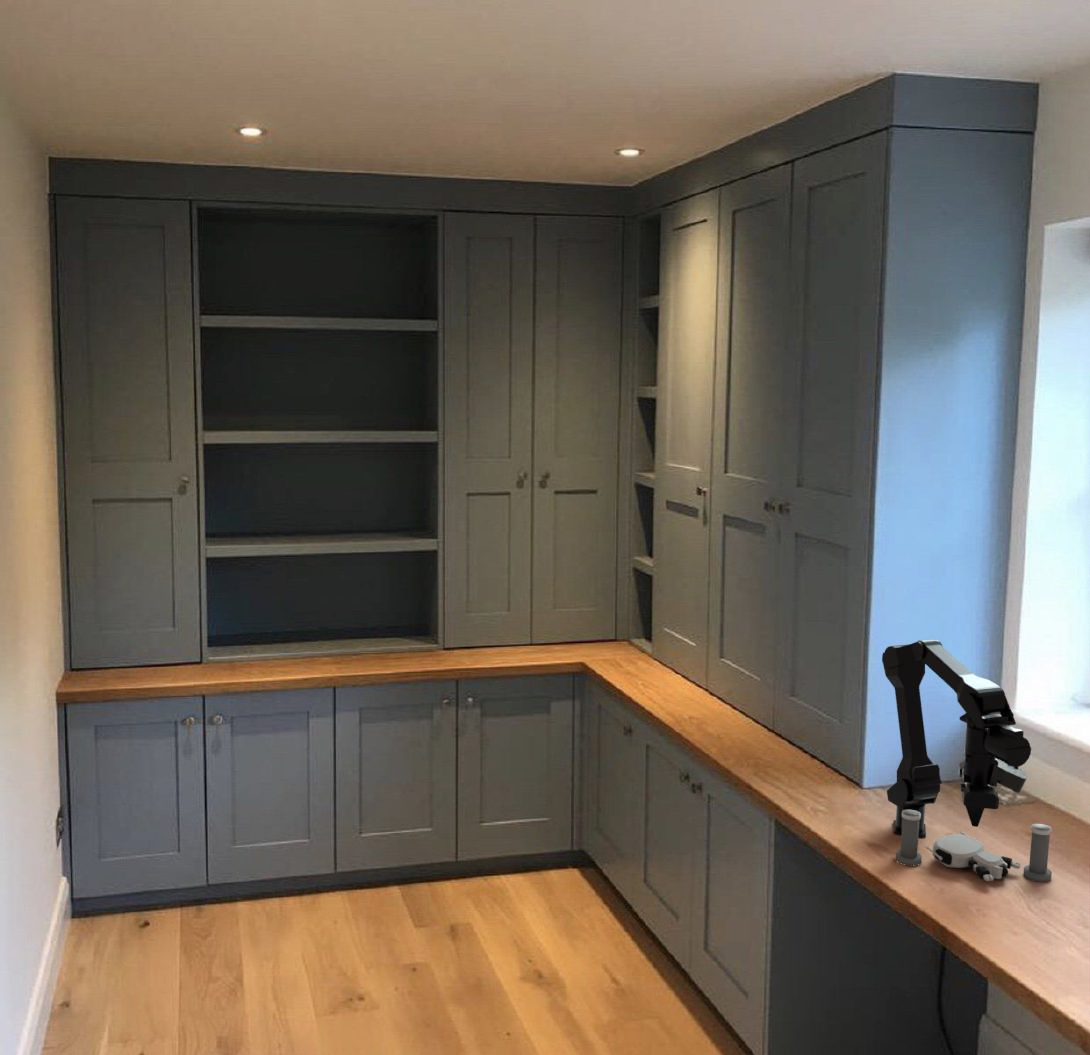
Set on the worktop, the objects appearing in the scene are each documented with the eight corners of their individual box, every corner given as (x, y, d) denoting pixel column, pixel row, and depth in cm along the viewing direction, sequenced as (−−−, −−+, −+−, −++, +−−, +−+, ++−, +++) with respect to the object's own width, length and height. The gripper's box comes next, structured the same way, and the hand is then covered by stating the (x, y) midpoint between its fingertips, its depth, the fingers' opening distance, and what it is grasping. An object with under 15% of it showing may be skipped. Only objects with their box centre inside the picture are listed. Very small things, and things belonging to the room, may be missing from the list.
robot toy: (1022, 878, 241) (956, 847, 252) (1026, 857, 240) (959, 826, 251) (987, 895, 233) (919, 862, 245) (990, 873, 232) (922, 841, 244)
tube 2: (1022, 869, 242) (1026, 821, 241) (1049, 872, 241) (1053, 824, 239) (1024, 880, 238) (1028, 830, 236) (1052, 883, 236) (1057, 834, 235)
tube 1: (895, 854, 249) (898, 807, 247) (921, 857, 247) (924, 809, 246) (895, 864, 244) (898, 816, 242) (921, 867, 242) (924, 819, 241)
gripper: (1030, 770, 228) (1023, 850, 230) (1020, 738, 245) (1014, 812, 248) (966, 763, 230) (961, 843, 233) (961, 732, 248) (955, 806, 251)
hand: (974, 825), depth 241 cm, fingers closed
